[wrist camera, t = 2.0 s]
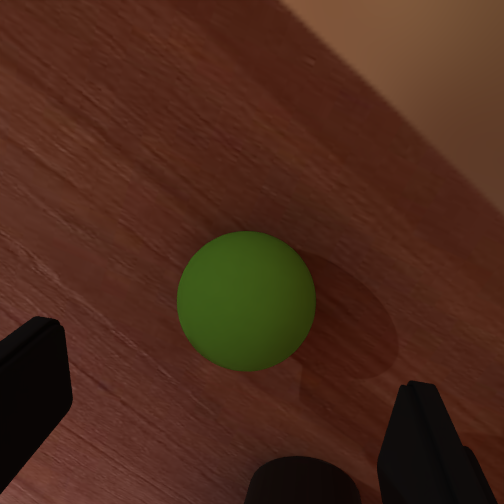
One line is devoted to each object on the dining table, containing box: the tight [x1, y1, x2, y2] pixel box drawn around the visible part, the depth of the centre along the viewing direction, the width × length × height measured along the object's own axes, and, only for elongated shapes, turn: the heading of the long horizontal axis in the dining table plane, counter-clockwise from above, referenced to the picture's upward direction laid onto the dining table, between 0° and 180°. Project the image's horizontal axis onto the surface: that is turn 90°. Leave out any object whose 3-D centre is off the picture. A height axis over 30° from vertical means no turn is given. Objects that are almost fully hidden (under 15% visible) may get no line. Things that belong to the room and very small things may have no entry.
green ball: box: [177, 231, 316, 371], centre depth 14 cm, size 5×5×5 cm
